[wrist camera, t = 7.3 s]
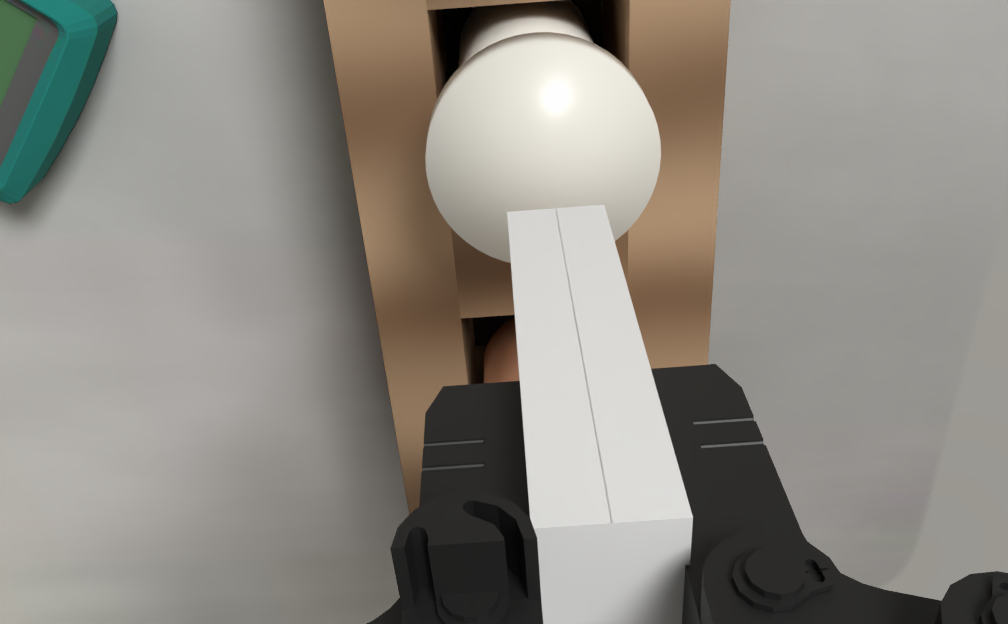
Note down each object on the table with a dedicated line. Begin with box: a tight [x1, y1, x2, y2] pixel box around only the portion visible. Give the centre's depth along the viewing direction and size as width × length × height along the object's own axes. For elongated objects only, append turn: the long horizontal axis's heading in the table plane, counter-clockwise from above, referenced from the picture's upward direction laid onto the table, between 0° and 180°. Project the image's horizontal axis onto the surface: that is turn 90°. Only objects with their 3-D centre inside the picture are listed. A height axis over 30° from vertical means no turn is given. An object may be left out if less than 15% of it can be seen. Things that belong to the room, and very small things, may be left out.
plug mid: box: [425, 0, 661, 263], centre depth 24 cm, size 5×5×9 cm
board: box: [323, 0, 731, 515], centre depth 26 cm, size 30×10×6 cm, turn 4°
